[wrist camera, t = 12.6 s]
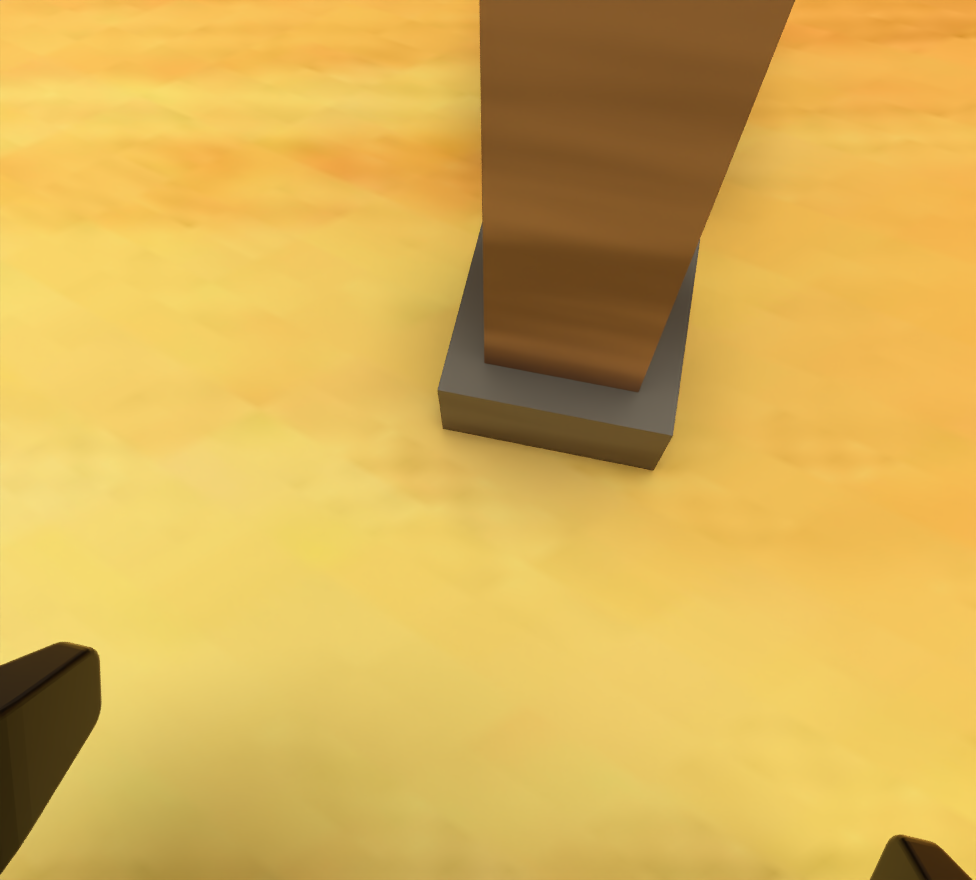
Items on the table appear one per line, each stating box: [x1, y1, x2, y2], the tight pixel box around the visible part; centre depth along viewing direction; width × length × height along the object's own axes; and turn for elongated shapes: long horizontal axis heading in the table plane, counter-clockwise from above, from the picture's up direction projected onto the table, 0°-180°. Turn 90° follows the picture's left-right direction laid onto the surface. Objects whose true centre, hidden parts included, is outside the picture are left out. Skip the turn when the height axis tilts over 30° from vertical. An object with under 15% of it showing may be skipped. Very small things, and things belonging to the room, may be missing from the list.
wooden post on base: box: [438, 0, 795, 470], centre depth 17 cm, size 6×6×14 cm
